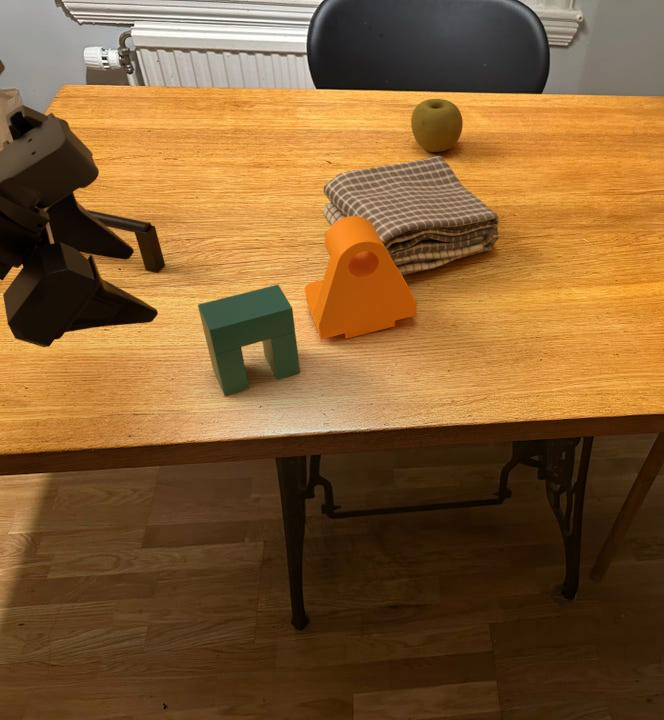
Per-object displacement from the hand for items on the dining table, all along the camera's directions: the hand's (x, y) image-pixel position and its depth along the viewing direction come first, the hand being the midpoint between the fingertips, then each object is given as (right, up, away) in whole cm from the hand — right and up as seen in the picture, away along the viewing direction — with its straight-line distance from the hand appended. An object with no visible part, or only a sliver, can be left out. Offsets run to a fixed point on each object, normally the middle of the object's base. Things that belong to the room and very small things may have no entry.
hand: (142, 284), depth 58 cm
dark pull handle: (-16, +6, +24) cm, 29 cm away
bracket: (+15, -1, +21) cm, 25 cm away
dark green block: (+6, -7, +13) cm, 16 cm away
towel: (+19, +9, +31) cm, 38 cm away
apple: (+21, +27, +51) cm, 62 cm away
